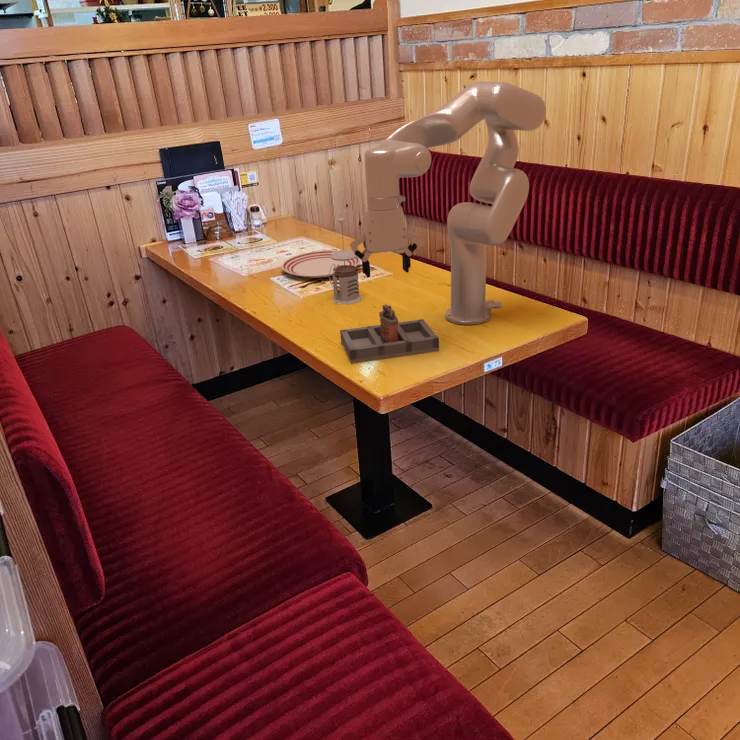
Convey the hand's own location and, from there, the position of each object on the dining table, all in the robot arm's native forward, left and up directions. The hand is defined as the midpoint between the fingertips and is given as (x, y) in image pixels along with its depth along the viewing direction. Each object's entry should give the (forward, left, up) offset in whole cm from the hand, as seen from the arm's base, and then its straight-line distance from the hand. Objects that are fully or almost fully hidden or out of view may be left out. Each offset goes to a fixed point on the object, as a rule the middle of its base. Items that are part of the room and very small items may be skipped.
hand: (386, 273), depth 164 cm
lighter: (0, 0, -19) cm, 19 cm away
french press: (+4, -38, -20) cm, 43 cm away
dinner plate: (+6, -71, -20) cm, 74 cm away
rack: (0, 0, -20) cm, 20 cm away
